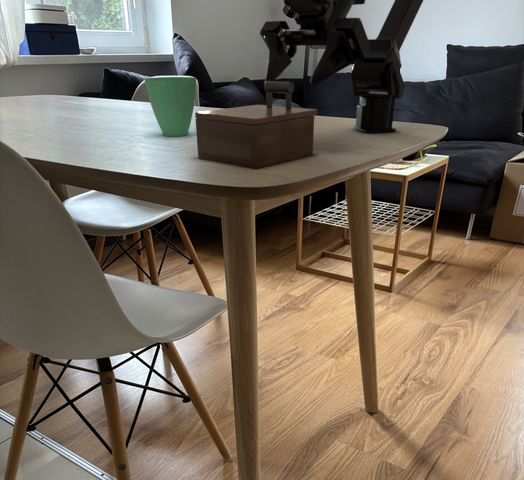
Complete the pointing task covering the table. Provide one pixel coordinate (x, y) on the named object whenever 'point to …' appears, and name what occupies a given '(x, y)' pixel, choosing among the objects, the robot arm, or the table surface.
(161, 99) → the mug
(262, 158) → the keepsake box
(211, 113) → the lid
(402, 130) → the table surface
